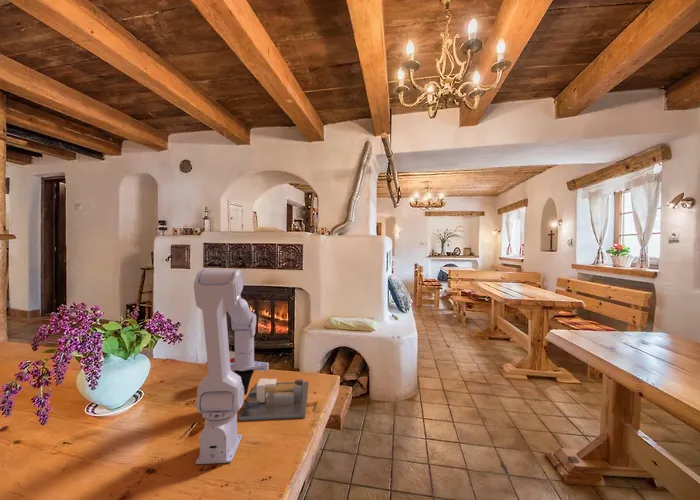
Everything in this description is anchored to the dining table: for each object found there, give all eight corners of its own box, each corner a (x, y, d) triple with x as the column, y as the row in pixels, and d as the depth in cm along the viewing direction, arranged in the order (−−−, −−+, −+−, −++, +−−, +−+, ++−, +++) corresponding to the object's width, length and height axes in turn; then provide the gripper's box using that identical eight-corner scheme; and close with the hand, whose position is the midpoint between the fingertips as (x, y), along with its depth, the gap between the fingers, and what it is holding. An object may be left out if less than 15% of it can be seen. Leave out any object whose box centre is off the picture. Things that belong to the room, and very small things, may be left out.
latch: (274, 401, 91) (274, 385, 91) (256, 402, 91) (256, 385, 91) (277, 394, 96) (277, 377, 96) (260, 394, 95) (260, 378, 95)
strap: (299, 390, 93) (299, 386, 93) (265, 392, 92) (265, 389, 92) (300, 385, 95) (300, 382, 95) (267, 388, 95) (267, 385, 95)
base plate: (304, 417, 85) (304, 397, 85) (238, 420, 84) (238, 400, 84) (308, 384, 105) (308, 368, 105) (255, 387, 104) (255, 370, 104)
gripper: (270, 345, 97) (270, 386, 97) (225, 346, 96) (225, 387, 96) (266, 353, 90) (266, 397, 90) (217, 354, 89) (217, 399, 89)
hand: (244, 393), depth 93 cm, fingers closed
